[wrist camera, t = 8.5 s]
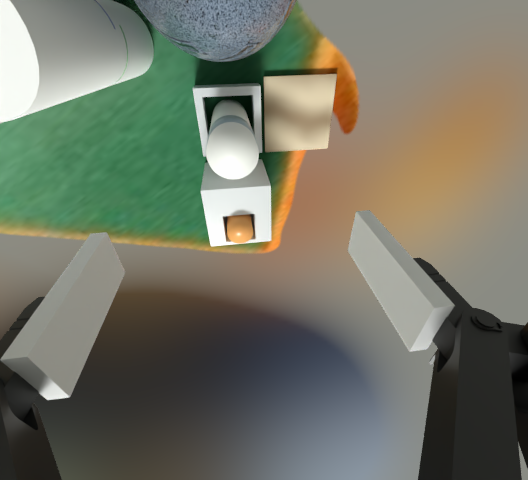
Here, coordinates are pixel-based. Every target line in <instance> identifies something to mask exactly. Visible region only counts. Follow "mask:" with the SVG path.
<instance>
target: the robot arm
mask: <svg viewBox="0 0 528 480" xmlns="http://www.w3.org/2000/svg"><path fill="white" fill-rule="evenodd" d="M348 252H349V253H350V255H351V257H352V258H353V260H354V262H355V263H356V265H357V267H358V268H359V270H360V271H361V273H362V275H363V276H364V278H365V280H366V281H367V283H368V284H369V286H370V288H371V290H372V291H373V293H374V294H375V296H376V298H377V299H378V301H379V302H380V304H381V306H382V308H383V309H384V311H385V312H386V314H387V316H388V317H389V319H390V321H391V322H392V324H393V326H394V327H395V329H396V331H397V332H398V334H399V335H400V337H401V339H402V340H403V342H404V344H405V345H406V347H407V348H408V350H409V351H410V352H411V351H418V350H425V349H428V347H429V345H430V344H431V342H432V341H433V342H434V343H435V345H436V346H437V347H438V349H437V351H436V352H435V354H434V355H433V357H432V358H431V360H430V362H429V364H431V365H432V363H433V362H434V367H433V375H432V382H431V390H430V397H429V404H428V411H427V418H426V425H425V433H424V440H423V448H422V454H421V461H420V469H419V476H418V480H522V478H521V468H520V458H519V448H518V442H519V445H520V448H521V451H522V454H523V456H524V459H525V462H526V465H527V468H528V323H527V324H526V325H525V326H524V325H517V324H511V323H504V322H501V321H500V320H499V319H498V318H497V317H495V316H494V315H492V314H491V313H489V312H486V311H484V310H481V309H477V308H472V307H471V306H470V305H469V304H468V303H467V302H466V301H465V300H464V298H462V296H461V295H460V294H459V293H458V292H457V291H456V290H455V289H454V288H453V287H452V286H451V285H450V284H449V283H448V282H446V280H445V279H444V278H443V277H442V276H441V275H439V272H438V271H437V270H436V269H435V268H434V267H433V266H432V265H431V264H429V263H428V262H426V261H424V260H423V259H421V258H412V257H411V256H410V255H409V254H408V253H407V252H406V250H405V249H404V248H403V247H402V246H401V245H400V244H399V243H398V242H397V240H396V239H395V238H394V237H393V236H392V235H391V234H390V232H389V231H388V230H387V229H386V228H385V227H384V226H383V225H382V224H381V223H380V221H379V220H378V219H377V218H376V217H375V216H374V215H373V214H372V213H371V211H370V210H367V211H357V212H356V215H355V219H354V224H353V229H352V233H351V238H350V242H349V247H348ZM124 274H125V270H124V268H123V266H122V264H121V262H120V260H119V258H118V256H117V254H116V251H115V249H114V247H113V245H112V243H111V240H110V238H109V236H108V234H107V232H106V233H94V234H90V236H89V237H88V238H87V240H86V241H85V243H84V244H83V245H82V247H81V248H80V250H79V251H78V252H77V254H76V255H75V256H74V258H73V259H72V261H71V262H70V263H69V265H68V266H67V268H66V269H65V270H64V272H63V273H62V274H61V276H60V277H59V279H58V280H57V281H56V283H55V284H54V286H53V287H52V288H51V290H50V291H49V293H48V294H47V295H46V297H38V298H37V299H36V300H35V301H33V302H32V303H31V304H30V305H28V306H27V307H26V308H25V309H24V310H23V312H22V313H21V314H20V316H19V317H18V318H17V321H16V322H14V323H13V325H12V326H11V327H10V330H9V331H7V333H6V334H5V335H4V336H3V338H2V339H1V340H0V480H62V479H61V476H60V473H59V470H58V467H57V464H56V461H55V458H54V455H53V452H52V449H51V446H50V443H49V440H48V437H47V434H46V431H45V428H44V425H43V422H42V419H41V416H40V413H39V410H38V408H37V406H36V405H35V404H34V401H35V399H36V397H37V395H38V393H40V394H41V395H42V396H43V397H45V398H46V399H47V400H52V399H60V398H67V397H70V396H71V393H72V391H73V389H74V387H75V384H76V382H77V380H78V377H79V375H80V373H81V371H82V369H83V366H84V364H85V362H86V360H87V357H88V355H89V353H90V351H91V348H92V346H93V344H94V342H95V339H96V337H97V335H98V333H99V330H100V328H101V326H102V323H103V321H104V319H105V317H106V314H107V312H108V310H109V308H110V305H111V303H112V301H113V299H114V296H115V294H116V292H117V290H118V287H119V285H120V283H121V281H122V278H123V276H124Z"/></svg>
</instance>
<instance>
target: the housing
mask: <svg viewBox="0 0 528 480" xmlns="http://www.w3.org/2000/svg"><path fill="white" fill-rule="evenodd" d="M193 94H194V100H195V106H196V112H197V119H198V125H199V131H200V137H201V143H202V149H203V156H206V149H207V140H208V134H209V128H208V121H207V114H206V107H205V100H204V97H218V96H242V95H251V99H252V121H253V132H254V135H255V138H256V142H257V146H258V150H259V153H262V123H261V86H260V85H259V83H247V84H222V85H196V86H194V87H193ZM201 195H202V201H203V206H204V212H205V217H206V223H207V228H208V233H209V239H210V244H211V246H220V245H231V244H242V243H234V242H232V241H231V240H230V239H229V238H228V235H227V216H234V215H247V214H250V215H251V221H252V228H253V236H252V238H251V239H250V240H249V241H247V242H245V243H253V242H264V241H271V185H270V182H269V179H268V176H267V173H266V170H265V167H264V164H263V161H262V159H258V162H257V165H256V167H255V168H254V170H253V171H252V172H251V173H250V174H249V175H247V176H245V177H243V178H240V179H226V178H223V177H221V176H219V175H218V174H216V173H215V172H214V171H213V170H212V168H211V167H210V165H209V163H208V162H207V163H205V167H204V173H203V180H202V186H201Z"/></svg>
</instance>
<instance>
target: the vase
mask: <svg viewBox="0 0 528 480" xmlns="http://www.w3.org/2000/svg"><path fill="white" fill-rule="evenodd" d="M134 1H135V3H136V4H137V6H138V7H139V9H140V10H141V12H142V13H143V14H144V15H145V17H146V18H147V19H148V20H149V22H150V23H151V24H152V25H153V26H154V27H155V28H156V29H157V30H158V31H159V32H160V33H161V34H162V35H163V36H164V37H165V38H166V39H167V40H168V41H170V42H171V43H172V44H174V45H175V46H176V47H178V48H179V49H181V50H183V51H185V52H186V53H188V54H190V55H193V56H195V57H198V58H201V59H204V60H209V61H215V62H227V61H234V60H239V59H242V58H245V57H247V56H250V55H252V54H254V53H255V52H257V51H258V50H260V49H261V48H263V47H264V46H265V45H266V44H268V43H269V42H270V41H271V40H272V39H273V38H274V37H275V35H276V34H277V33H278V32H279V30H280V29H281V28H282V26H283V25H284V23H285V22H286V20H287V19H288V17H289V15H290V13H291V11H292V10H293V7H294V5H295V3H296V1H297V0H134Z"/></svg>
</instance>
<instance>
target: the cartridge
mask: <svg viewBox="0 0 528 480" xmlns="http://www.w3.org/2000/svg"><path fill="white" fill-rule="evenodd" d="M206 157H207V161H208V163H209V165H210V167H211V168H212V170H213V171H214V172H215V173H216V174H218V175H219V176H221V177H223V178H226V179H240V178H243V177H245V176H247V175H249V174H250V173H251V172H252V171H253V170H254V168H255V167H256V165H257V162H258V158H259V150H258V146H257V142H256V138H255V135H254V132H253V130H252V128H251V125H250V122H249V119H248V116H247V113H246V110H245V108H244V107H243V106H242V104H240V103H239V102H238V101H236V100H233V99H225V100H222V101H220V102H219V103H218V104H217V105H216V106H215V108H214V110H213V114H212V120H211V126H210V130H209V134H208V140H207V149H206Z"/></svg>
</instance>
